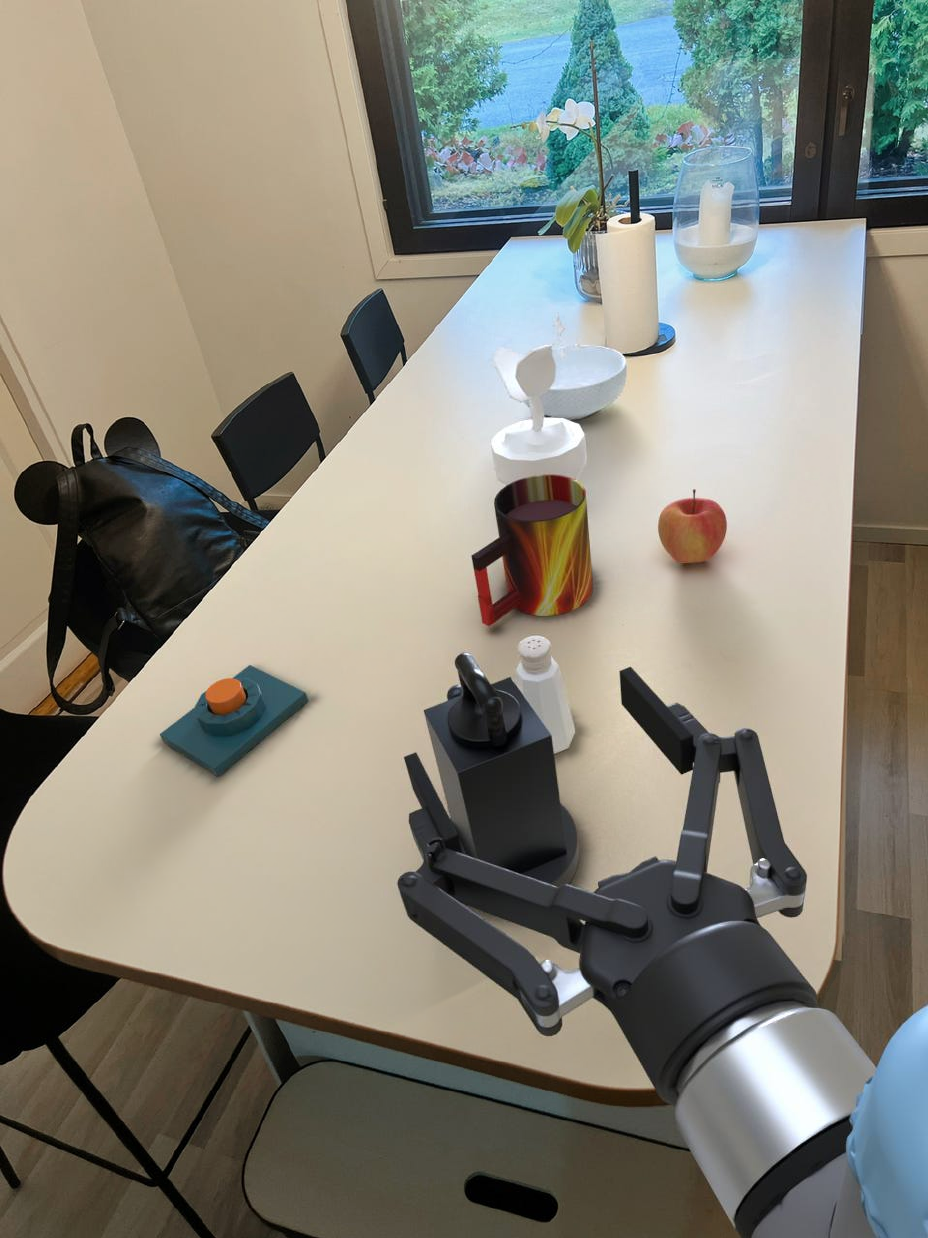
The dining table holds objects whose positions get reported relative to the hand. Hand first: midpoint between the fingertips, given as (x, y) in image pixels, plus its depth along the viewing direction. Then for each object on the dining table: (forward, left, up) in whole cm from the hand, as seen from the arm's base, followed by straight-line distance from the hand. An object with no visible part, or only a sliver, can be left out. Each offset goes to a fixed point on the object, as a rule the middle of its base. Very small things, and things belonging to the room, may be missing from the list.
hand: (522, 726), depth 51 cm
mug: (+24, +34, -22) cm, 47 cm away
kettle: (+2, +10, -20) cm, 23 cm away
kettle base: (+2, +8, -22) cm, 24 cm away
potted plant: (+36, +51, -22) cm, 66 cm away
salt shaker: (+12, +17, -22) cm, 31 cm away
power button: (-11, +39, -19) cm, 45 cm away
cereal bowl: (+56, +71, -22) cm, 93 cm away
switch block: (-11, +39, -22) cm, 46 cm away
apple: (+41, +29, -22) cm, 55 cm away
